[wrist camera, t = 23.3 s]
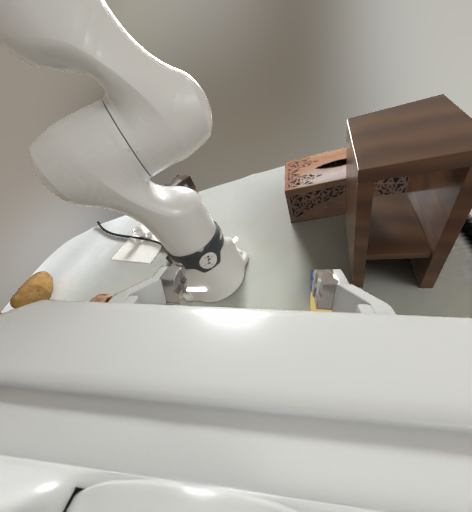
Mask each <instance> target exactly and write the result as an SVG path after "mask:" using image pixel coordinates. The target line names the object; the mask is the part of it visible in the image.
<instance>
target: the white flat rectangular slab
mask: <svg viewBox="0 0 472 512" xmlns="http://www.w3.org/2000/svg"><path fill="white" fill-rule="evenodd" d="M133 231H134V232H133ZM132 232H133V234H132V236H136V237H142V238H148V239H151V240H155V241H158V242H160V241H159V240H158V239H157V238H156V237H155V236H154V235H153V234H152V233H151V232H150V231H149V230H148V229H147V228H146V227H145V226H144V225H143V224H141V225H138V226H136V227H135V228H134V229H133V230H132ZM161 248H162V246H161V245H160V244H157V243H154V242H151V241H147V240H141V239H136V238H129V239H128V240H127V241H126V242H125V244H124V245H123V246H122V247H121V248H120V249H119V250H118V251H117V253H116V254H115V255H114V256H113V257H112V258H111V259H113V260H123V261H133V262H143V263H151V261H152V260H153V259H154V257H155V256H156V255H157V253H158V252H159V250H160V249H161Z"/></svg>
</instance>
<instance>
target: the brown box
mask: <svg viewBox="0 0 472 512" xmlns="http://www.w3.org/2000/svg"><path fill="white" fill-rule="evenodd" d="M404 176H410V177H409V181H408V185H407V190H406V193H400V194H392V195H385V196H377V197H373V192H374V183H375V181H379V180H385V179H391V178H398V177H404ZM471 209H472V118H470V117H469V116H468V115H467V114H466V113H465V112H463V111H462V110H461V109H460V108H459V107H458V106H456V105H455V104H454V103H453V102H452V101H451V100H449V99H448V98H447V97H446V96H445V95H444V94H442V95H438V96H434V97H430V98H427V99H423V100H419V101H415V102H411V103H407V104H404V105H400V106H396V107H392V108H388V109H384V110H380V111H377V112H373V113H369V114H365V115H361V116H357V117H354V118H350V119H347V150H346V238H347V247H348V256H349V265H350V273H351V282H352V285H354V286H356V287H363V282H364V273H365V264H366V260H377V259H406V258H410V261H411V264H412V267H413V270H414V273H415V276H416V279H417V282H418V285H419V288H433V286H434V284H435V282H436V280H437V278H438V276H439V274H440V272H441V270H442V268H443V266H444V264H445V262H446V260H447V258H448V255H449V253H450V251H451V249H452V247H453V245H454V243H455V241H456V239H457V237H458V235H459V233H460V231H461V229H462V227H463V225H464V223H465V221H466V219H467V217H468V215H469V213H470V211H471Z"/></svg>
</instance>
